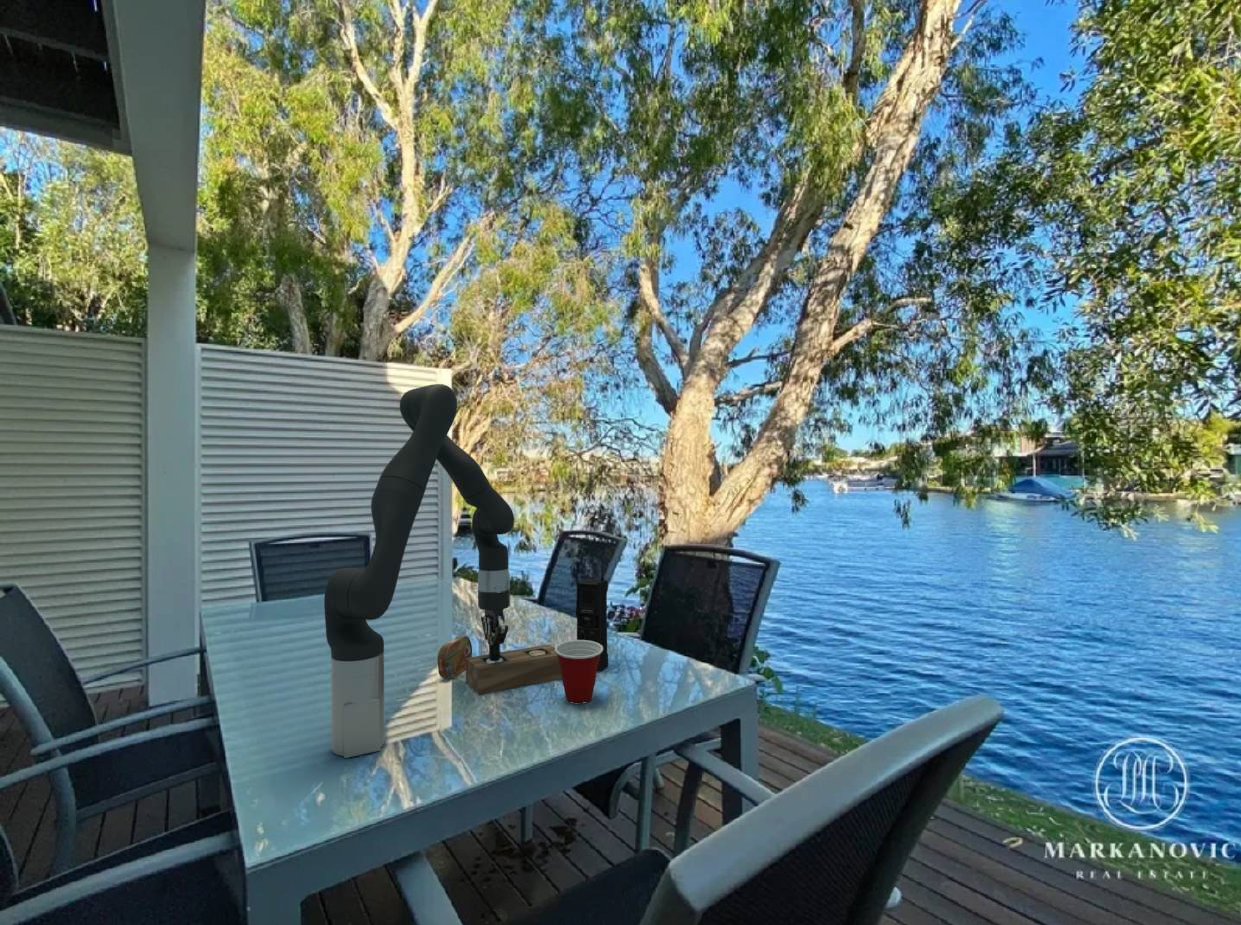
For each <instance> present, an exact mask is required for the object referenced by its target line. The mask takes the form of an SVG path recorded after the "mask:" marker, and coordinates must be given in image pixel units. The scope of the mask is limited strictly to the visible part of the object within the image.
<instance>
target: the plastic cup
mask: <svg viewBox="0 0 1241 925" xmlns="http://www.w3.org/2000/svg"><path fill="white" fill-rule="evenodd" d="M554 647H555V652H556V653H557V655H558V659H559V663H560V668H561V674H562V679H561V680H562V685H563V689H564V696H565V699H566V702H567V701H568V703H569V702H573V703H583V702H588V703H590V702H591V701H592V700H593V697H594V690H595V685H596V681H597V680H596V679H597V673H598V672H597V668H598V662H599V658H600V655H601V652H602V651H603V646H602V645H600V644H599V643H596V642H593V641H588V640H577V639H573V640H572V639H571V640H566V641H562V642H560V643H558V644H557V645H555V646H554ZM591 699H592V700H591ZM590 700H591V701H590ZM589 701H590V702H589Z"/></svg>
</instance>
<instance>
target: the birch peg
mask: <svg viewBox="0 0 1241 925" xmlns="http://www.w3.org/2000/svg"><path fill="white" fill-rule="evenodd" d="M542 654H545V651H541V650H535V651H531V652H529V655H531V656H537V655H542Z"/></svg>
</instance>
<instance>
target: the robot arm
mask: <svg viewBox="0 0 1241 925" xmlns="http://www.w3.org/2000/svg"><path fill="white" fill-rule="evenodd" d="M399 411H400V414H401V416H402V419H403V420H404V422H405V424H406V425H407V426H408V427H409V429H410V430H411V431H412V434H411V435H410V437H409V438H408V439H407V441H406V442H405V443H404V444H403V446H402V447H401V448H400V449H399V450H398V452H396V453H395V455H394V456H393V457H392V458H391V460H390V461H389V462H388V463H387V464H386V466H385V467H384V469H383V470H382V473H381V474H380V476H379V478H378V482H377V484H376V487H375V489H374V492H373V494H372V497H371V500H370V501H371V503H370V510H371V511H370V512H371V518H372V522H373V527H374V528H373V529H374V533H375V542H374V545H373V549H372V550H373V551H372V553H371V556H370V558H369V562H368V564H367V566H366V568H356V567H344V568H341V569H338V570H336V571H335V572H334V573H333V574H332V575H331V576H330V577H329V579H328V581H327V583H326V586H325V591H324V597H323V600H324V602H323V605H324V621H325V622H324V623H325V636H326V642H327V644H328V646H329V648H330V653H331V654H330V658H331V660H330V664H331V671H330V672H331V674H330V676H331V677H330V678H331V683H330V684H331V689H330V690H331V691H330V692H331V693H330V694H331V699H330V700H331V751H332V753H333V754H335V755H337V756H341V757H343V758H344V759H348V758H351V757H356V756H362V755H366V754H369V753H375V752H378V751H381V748H382V746H384V745H385V743H386V742H385V740H386V739H385V738H386V737H385V736H386V735H385V732H386V731H385V726H386V725H385V723H386V722H385V642H384V637H383V635H381V634H380V633H378V632H377V631H375V630H374V629H373V628H372V627H371V626H370V625H369V623H368V622H367V621H373V620H374V621H375V620H377V619H380V618H381V617H382V616H383V615H384V614H385V613H386V612H387V611H388V610H389V607H390V605H391V603H392V601H393V599H394V598H393V597H394V595H395V591H396V587H397V583H398V580H399V576H400V572H401V567H402V563H403V558H404V555H405V551H406V547H407V544H408V540H409V538H410V536H411V532H412V528H413V526H414V522H415V520H416V517H417V515H418V512H419V509H420V507H421V503H422V501H423V498H424V496H425V493H426V490H427V489H426V488H427V487H428V486H427V485H428V483H429V479H430V477H431V474H432V472H433V469H434V467H435V464H436V462H438V463H439V464H440V465H441V467H442V468H443V469H444V470H445V472H446V473H447V474H448V476H449V478H450V479H451V481H452V482H453V484H454V486H455V487H456V489H457V491H458V492H459V494H460V496H461V497H462V499H463V500H464V502H465V503H466V504H467V505H469V506H471V507H474V508H475V510H474V511H473V514H472V519H471V528H472V531H473V532H472V533H473V536H474V540H475V544H476V547H477V550H478V551H477V552H478V576H477V607H478V608H479V610H482V611H484V615H483V616H481V617H480V621H481V625H482V630H483V634H484V639H485V640H487V644H488V654H489V659H490V660H491V661H496V660H499V659H500V652H501V645H502V644H504V643H505V640H506V637H507V634H508V632H509V625H508V624H505V620H506V619H505V618H506V617H505V615H504V610H505V609H507V608H509V607H510V605H511V583H510V582H511V581H510V580H511V579H510V578H511V577H510V571H509V568H510V567H509V566H510V565H509V549H508V548H509V547H508V546H507V545H506V544H503V543H502V542H501V541H500V540H499V536H498V535H506V534H508V533H510V532H511V531H512V530H513V528H514V525H515V515H514V512H513V509H512V507H510V505H509V504H508V502H507V501H506V500H505V499H504V498H503V497H502V496H501V494H499V492H498V491H497V490H495V488H493V486H492V485H491V484H490V481H489V480H488V478H487V476H486V475H485V473H484V470H483V469H482V468H481V466H480V464H479V463H478V462H477V460H475V458H473V457H472V456H471V455H470V454H469V453H467V452H466V451H464V449H463V448H461V447H460V446H459V445H458V444H457V443H455V442H454V441H453V439H451V437H449V436H448V433H449V432H450V430H451V428H452V426H453V423H454V421H455V418H456V415H457V411H458V400H457V396H456V393H455V391H454V390H453V389H452V387H450V386H448V385H446V384H444V383H435V384H429V385H428V384H427V385H424V386H420V387H417V388H412V389H409V390H407V391H406V392H405V393H403V395H401V398H400V401H399Z"/></svg>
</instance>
